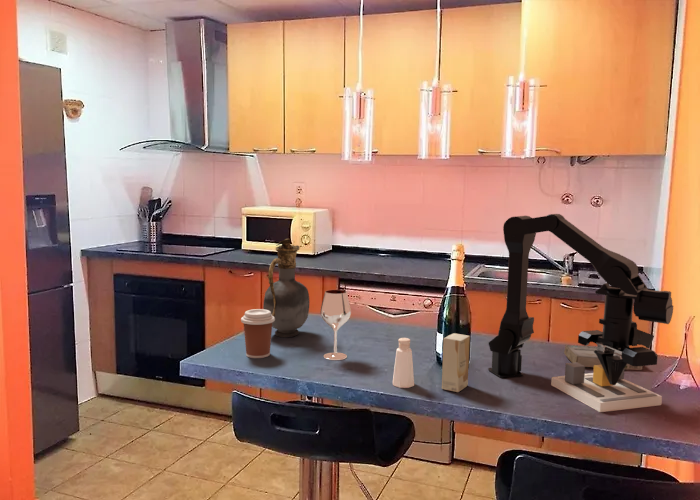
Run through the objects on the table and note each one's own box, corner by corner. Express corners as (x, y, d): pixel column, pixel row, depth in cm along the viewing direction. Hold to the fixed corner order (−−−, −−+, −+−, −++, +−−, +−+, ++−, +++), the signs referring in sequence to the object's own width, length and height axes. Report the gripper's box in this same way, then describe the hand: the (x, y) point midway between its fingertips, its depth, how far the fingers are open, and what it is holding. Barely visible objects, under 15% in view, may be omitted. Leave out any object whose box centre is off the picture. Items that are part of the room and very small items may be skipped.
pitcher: (313, 330, 191) (313, 236, 187) (286, 345, 173) (286, 242, 169) (282, 326, 194) (282, 235, 191) (253, 341, 176) (252, 240, 173)
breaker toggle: (601, 386, 135) (602, 369, 134) (592, 382, 138) (593, 365, 137) (612, 385, 136) (613, 368, 135) (603, 380, 139) (604, 364, 138)
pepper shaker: (417, 382, 143) (419, 337, 142) (410, 389, 138) (411, 343, 137) (396, 379, 145) (397, 334, 144) (388, 386, 140) (389, 340, 139)
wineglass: (315, 359, 160) (315, 293, 158) (327, 351, 168) (328, 287, 166) (343, 362, 157) (344, 295, 155) (354, 354, 165) (355, 290, 163)
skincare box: (458, 393, 136) (460, 341, 135) (440, 389, 138) (442, 338, 137) (468, 385, 142) (470, 335, 140) (451, 381, 144) (453, 332, 142)
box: (563, 354, 166) (564, 344, 166) (626, 358, 165) (628, 347, 165) (575, 368, 156) (576, 356, 155) (643, 371, 155) (644, 360, 154)
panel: (599, 412, 126) (601, 382, 125) (551, 385, 142) (552, 359, 141) (661, 404, 131) (663, 376, 130) (607, 379, 147) (609, 354, 146)
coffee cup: (265, 361, 158) (265, 316, 156) (235, 357, 161) (234, 313, 159) (280, 351, 166) (280, 309, 165) (251, 348, 169) (250, 307, 168)
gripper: (681, 324, 125) (675, 396, 127) (618, 305, 143) (613, 368, 144) (637, 327, 122) (631, 401, 124) (578, 307, 139) (574, 372, 141)
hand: (612, 384), depth 133 cm, fingers closed
